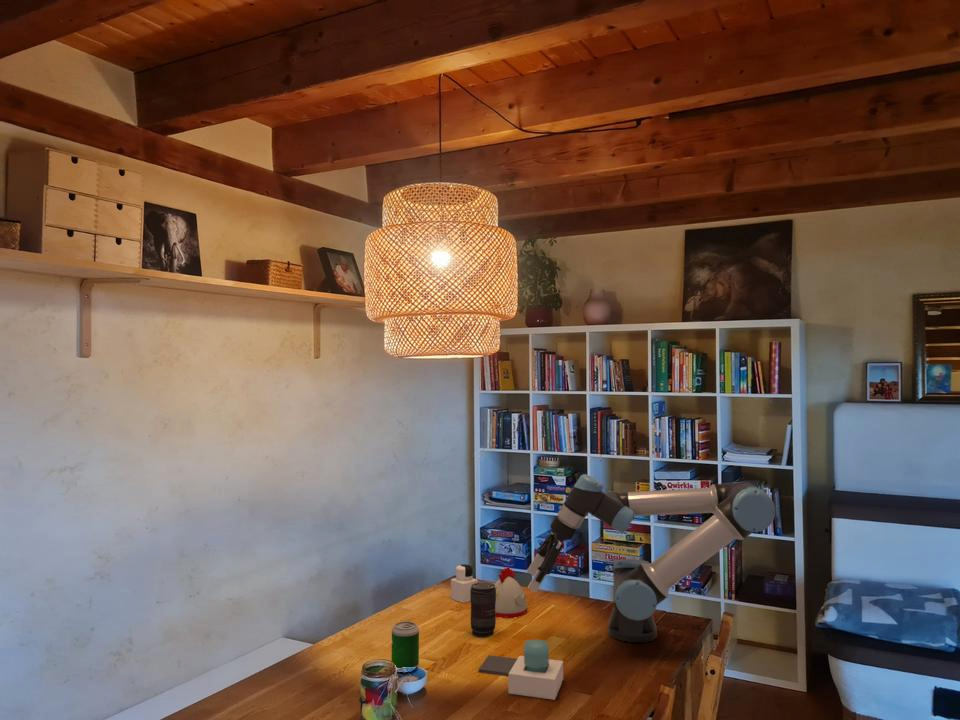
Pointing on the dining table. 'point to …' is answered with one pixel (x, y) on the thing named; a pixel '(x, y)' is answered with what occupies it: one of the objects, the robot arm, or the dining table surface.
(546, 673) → the bore block
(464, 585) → the medicine bottle
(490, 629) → the camera lens
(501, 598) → the kitchen timer
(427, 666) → the dining table surface
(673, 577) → the robot arm
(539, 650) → the capped plug
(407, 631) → the soda can
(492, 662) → the slate mat
